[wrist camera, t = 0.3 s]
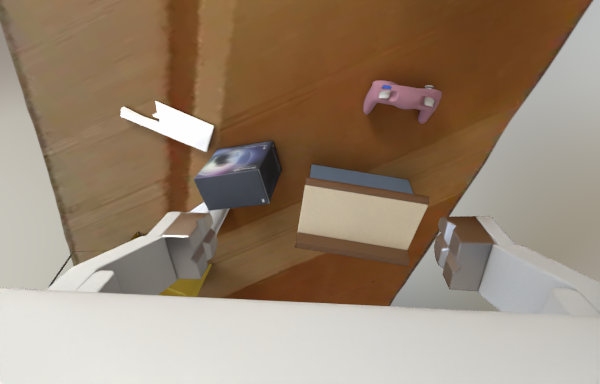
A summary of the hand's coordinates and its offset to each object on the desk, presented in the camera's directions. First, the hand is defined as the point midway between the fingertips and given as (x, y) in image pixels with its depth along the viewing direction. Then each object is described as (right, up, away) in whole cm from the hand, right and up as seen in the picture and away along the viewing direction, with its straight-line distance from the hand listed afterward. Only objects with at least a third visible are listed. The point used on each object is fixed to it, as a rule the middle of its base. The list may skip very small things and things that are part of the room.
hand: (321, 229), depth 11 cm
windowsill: (+9, +2, +43) cm, 44 cm away
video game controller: (+14, +16, +33) cm, 39 cm away
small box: (-10, +7, +42) cm, 44 cm away
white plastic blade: (-23, +14, +39) cm, 48 cm away
